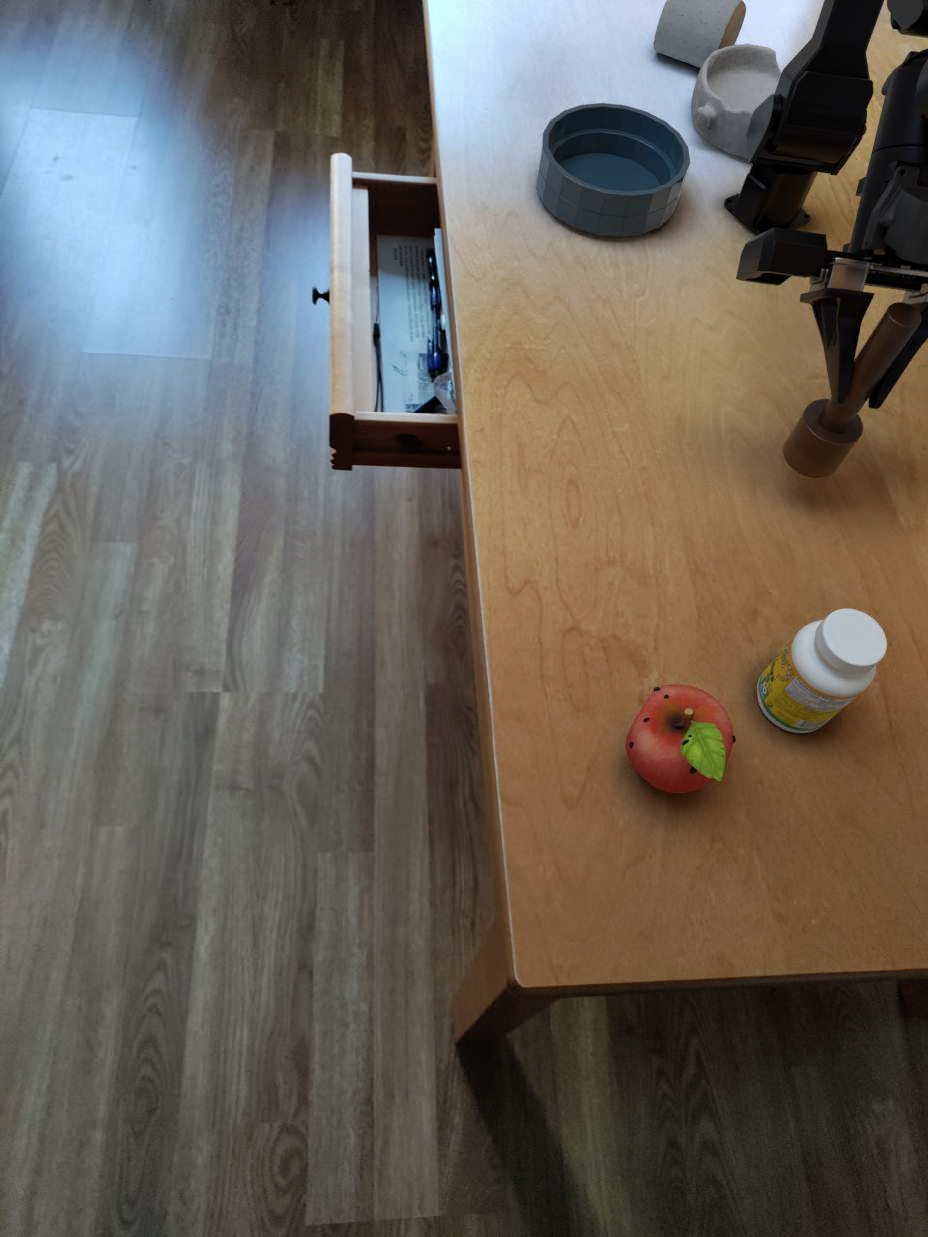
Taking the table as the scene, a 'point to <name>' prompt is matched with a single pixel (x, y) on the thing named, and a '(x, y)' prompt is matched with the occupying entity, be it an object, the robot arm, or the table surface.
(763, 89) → the dish
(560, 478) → the table surface
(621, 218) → the bowl
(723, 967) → the table surface
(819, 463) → the pestle
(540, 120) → the table surface
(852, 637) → the supplement bottle
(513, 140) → the table surface
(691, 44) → the ceramic mug
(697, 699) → the apple
